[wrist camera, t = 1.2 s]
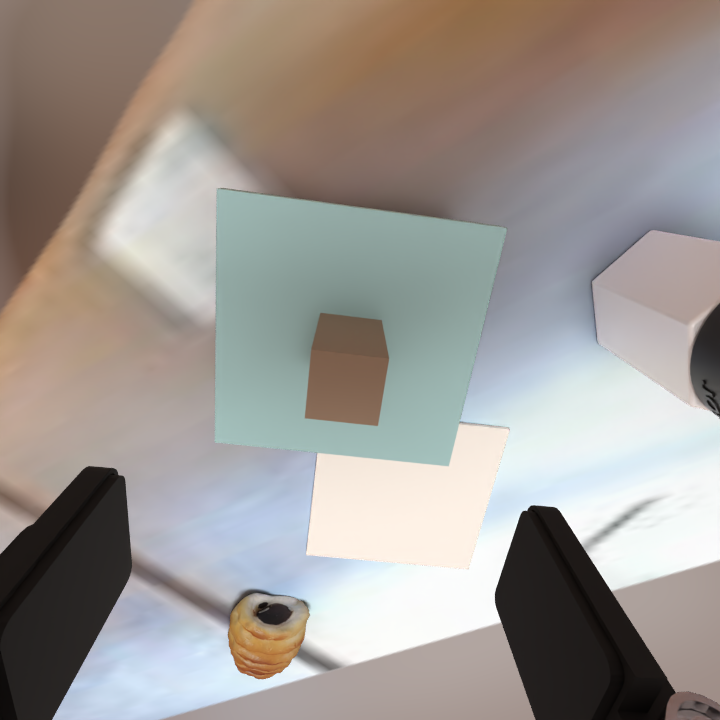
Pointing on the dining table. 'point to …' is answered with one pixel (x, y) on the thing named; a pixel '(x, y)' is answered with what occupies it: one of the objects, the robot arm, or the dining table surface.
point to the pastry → (266, 633)
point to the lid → (346, 326)
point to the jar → (665, 314)
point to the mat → (406, 503)
